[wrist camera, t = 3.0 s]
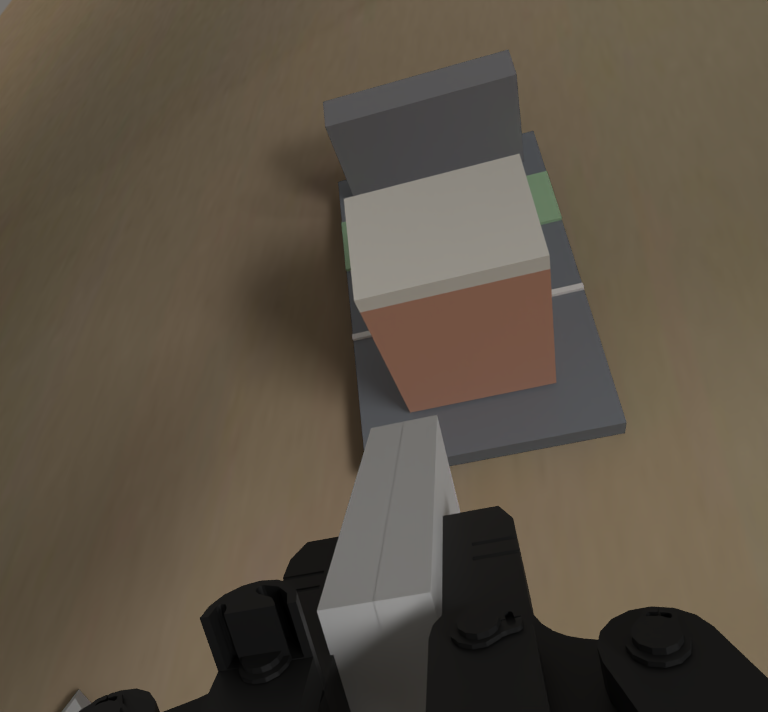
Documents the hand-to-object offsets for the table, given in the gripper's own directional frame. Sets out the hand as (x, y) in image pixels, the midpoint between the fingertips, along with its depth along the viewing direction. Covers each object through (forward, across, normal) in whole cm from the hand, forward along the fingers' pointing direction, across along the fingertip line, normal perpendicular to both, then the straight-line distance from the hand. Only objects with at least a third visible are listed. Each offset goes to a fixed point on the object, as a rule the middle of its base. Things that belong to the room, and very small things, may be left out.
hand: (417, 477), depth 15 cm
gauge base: (+23, +2, 0) cm, 23 cm away
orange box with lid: (+19, +1, -2) cm, 19 cm away
